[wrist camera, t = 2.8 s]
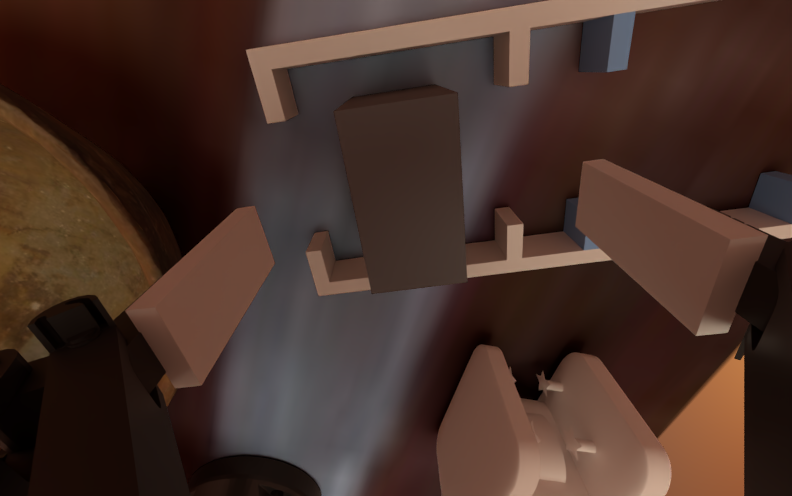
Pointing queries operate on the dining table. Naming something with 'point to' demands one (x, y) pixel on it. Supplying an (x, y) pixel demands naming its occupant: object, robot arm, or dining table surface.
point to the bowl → (70, 226)
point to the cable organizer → (546, 435)
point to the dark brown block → (406, 185)
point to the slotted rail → (567, 4)
